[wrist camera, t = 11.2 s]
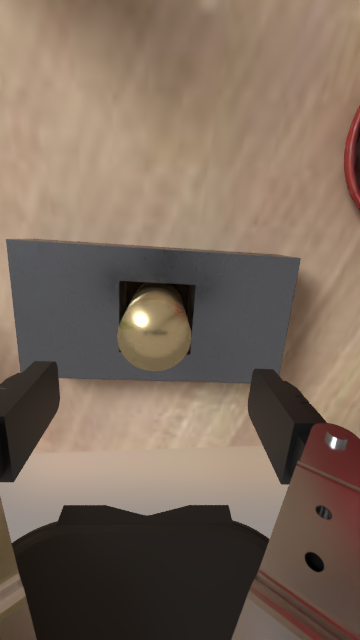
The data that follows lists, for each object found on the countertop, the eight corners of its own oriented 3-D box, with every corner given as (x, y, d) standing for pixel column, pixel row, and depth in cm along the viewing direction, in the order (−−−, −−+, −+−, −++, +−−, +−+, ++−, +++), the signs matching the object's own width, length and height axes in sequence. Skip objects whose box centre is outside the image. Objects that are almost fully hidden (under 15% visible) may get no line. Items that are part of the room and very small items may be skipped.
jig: (278, 254, 23) (300, 258, 20) (260, 362, 26) (277, 383, 22) (33, 238, 22) (6, 239, 18) (42, 355, 25) (21, 376, 21)
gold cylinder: (183, 282, 24) (194, 303, 16) (180, 330, 25) (188, 372, 17) (131, 279, 23) (117, 299, 16) (131, 328, 25) (117, 370, 17)
